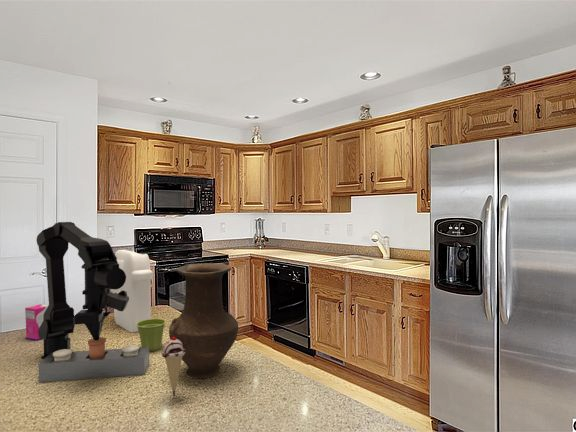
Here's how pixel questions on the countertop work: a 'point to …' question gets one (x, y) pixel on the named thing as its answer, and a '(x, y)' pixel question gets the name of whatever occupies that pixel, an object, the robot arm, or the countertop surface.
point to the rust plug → (97, 348)
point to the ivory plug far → (130, 350)
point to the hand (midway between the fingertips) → (96, 340)
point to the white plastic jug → (134, 289)
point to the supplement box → (34, 320)
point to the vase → (204, 320)
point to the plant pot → (151, 333)
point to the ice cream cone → (173, 359)
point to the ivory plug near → (62, 354)
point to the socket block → (94, 365)
